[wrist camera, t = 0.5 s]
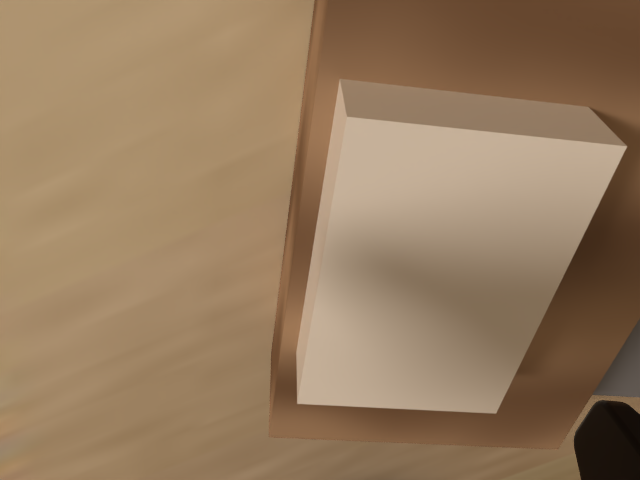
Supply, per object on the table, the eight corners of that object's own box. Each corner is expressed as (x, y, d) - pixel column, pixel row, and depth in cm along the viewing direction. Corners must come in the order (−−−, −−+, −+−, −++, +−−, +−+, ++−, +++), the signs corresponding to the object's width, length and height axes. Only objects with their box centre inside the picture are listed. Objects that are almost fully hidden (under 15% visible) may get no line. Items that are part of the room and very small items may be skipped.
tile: (478, 362, 19) (496, 413, 18) (296, 352, 19) (297, 403, 17) (588, 106, 14) (627, 146, 12) (339, 78, 13) (346, 116, 12)
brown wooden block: (524, 368, 26) (557, 449, 23) (271, 353, 24) (268, 437, 21) (759, -103, 15) (886, -77, 12) (335, -172, 14) (350, -163, 11)
